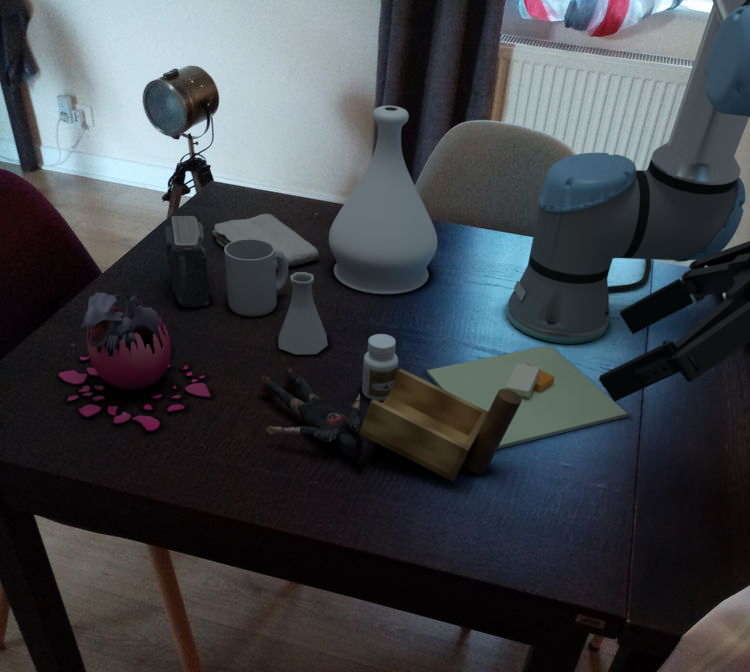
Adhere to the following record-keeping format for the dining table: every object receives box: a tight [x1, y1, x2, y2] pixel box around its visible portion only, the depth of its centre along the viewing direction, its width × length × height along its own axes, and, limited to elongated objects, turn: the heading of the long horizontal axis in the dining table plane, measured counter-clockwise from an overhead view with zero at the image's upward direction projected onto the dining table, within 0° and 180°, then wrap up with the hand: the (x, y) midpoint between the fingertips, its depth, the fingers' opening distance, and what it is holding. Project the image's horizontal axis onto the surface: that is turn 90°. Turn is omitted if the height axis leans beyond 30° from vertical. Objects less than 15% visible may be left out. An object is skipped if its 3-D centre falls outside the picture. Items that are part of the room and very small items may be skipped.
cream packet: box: [505, 363, 540, 398], centre depth 103 cm, size 4×3×1 cm
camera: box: [164, 215, 210, 309], centre depth 117 cm, size 11×6×10 cm, turn 12°
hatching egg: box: [58, 290, 212, 432], centre depth 96 cm, size 20×16×14 cm
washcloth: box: [212, 213, 320, 271], centre depth 132 cm, size 12×18×3 cm, turn 36°
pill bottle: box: [361, 333, 399, 402], centre depth 100 cm, size 4×4×8 cm
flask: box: [277, 271, 329, 355], centre depth 107 cm, size 7×7×10 cm
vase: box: [328, 105, 438, 295], centre depth 120 cm, size 17×17×25 cm
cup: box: [223, 239, 289, 318], centre depth 116 cm, size 7×10×9 cm
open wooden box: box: [358, 368, 522, 482], centre depth 89 cm, size 15×10×10 cm
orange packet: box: [527, 364, 555, 393], centre depth 105 cm, size 4×3×1 cm
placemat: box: [426, 344, 629, 450], centre depth 103 cm, size 20×18×1 cm
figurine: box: [260, 367, 368, 465], centre depth 94 cm, size 13×6×20 cm
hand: (617, 353), depth 77 cm, fingers open, 13 cm apart
